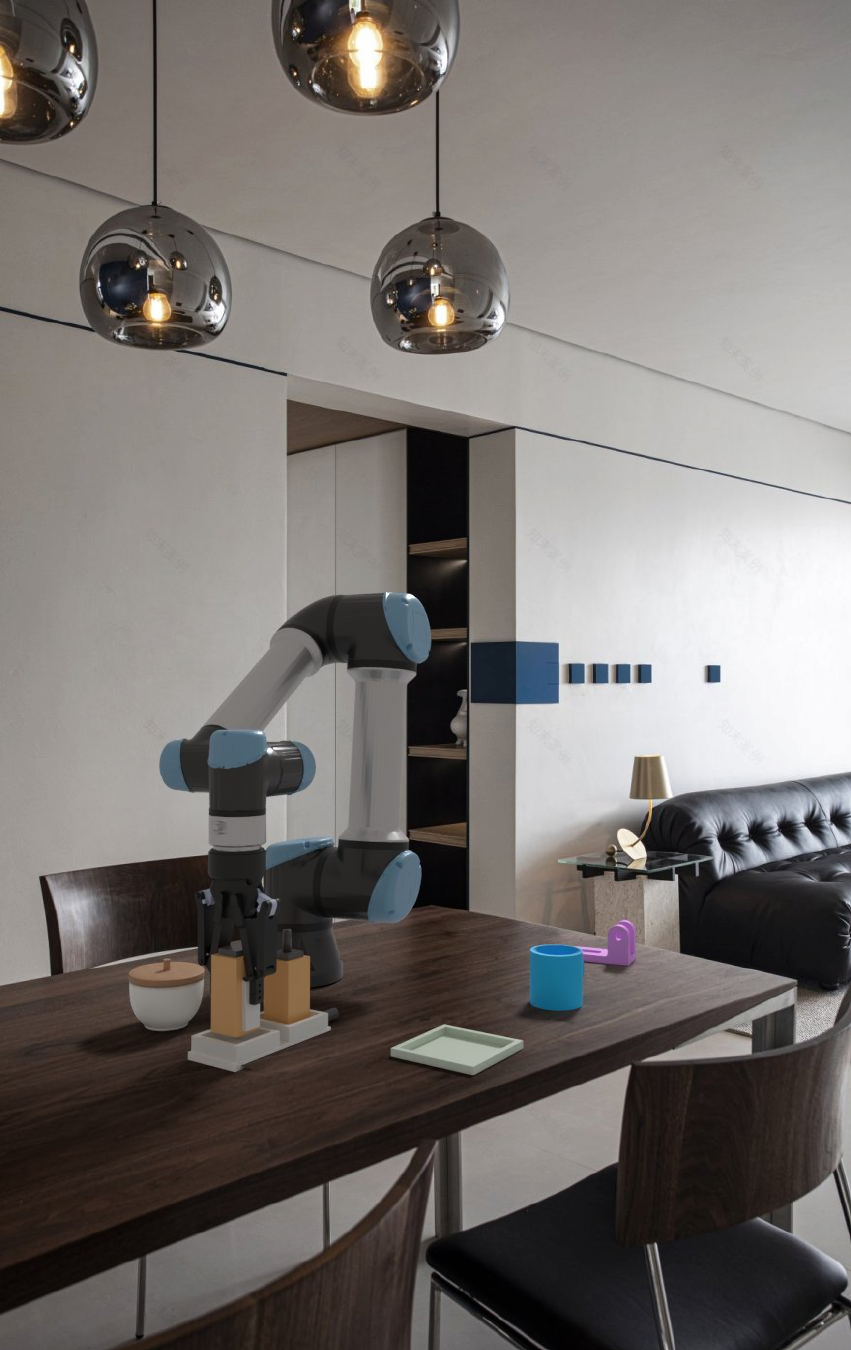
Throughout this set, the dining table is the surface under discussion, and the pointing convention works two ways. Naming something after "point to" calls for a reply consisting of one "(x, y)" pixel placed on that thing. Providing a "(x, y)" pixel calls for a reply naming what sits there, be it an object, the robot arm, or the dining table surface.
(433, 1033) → the tray
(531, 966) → the mug
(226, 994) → the orange capped pillar
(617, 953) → the bracket
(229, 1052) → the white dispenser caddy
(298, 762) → the robot arm
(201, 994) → the lidded jar
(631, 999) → the dining table surface
